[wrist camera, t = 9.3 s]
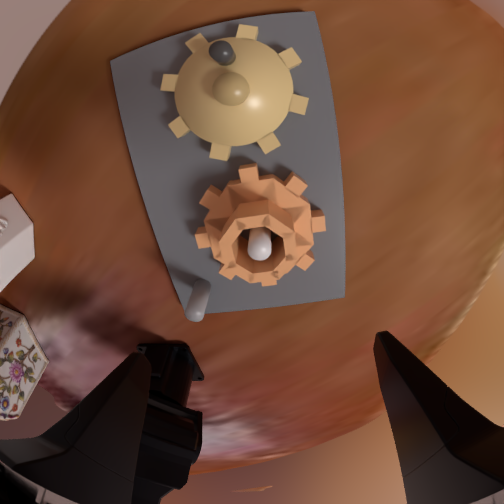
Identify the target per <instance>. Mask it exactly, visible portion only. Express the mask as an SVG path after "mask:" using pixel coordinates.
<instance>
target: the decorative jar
mask: <svg viewBox="0 0 504 504" xmlns="http://www.w3.org/2000/svg"><path fill="white" fill-rule="evenodd" d="M48 363H49V360H48V359H47V357H46V356H45V354H44V352H43V350H42V348H41V347H40V345H39V343H38V341H37V339H36V337H35V335H34V333H33V331H32V330H31V327H30V326H29V324H28V322H27V319H26V317H25V316H24V315H23V314H20V313H18V312H16V311H14V310H11V309H9V308H7V307H5V306H3V305H1V304H0V420H4V421H8V420H10V419H16V418H19V416H20V415H21V412H22V411H23V408H24V406H25V405H26V403H27V401H28V399H29V397H30V395H31V393H32V392H33V390H34V388H35V386H36V385H37V383H38V381H39V379H40V377H41V375H42V373H43V372H44V370H45V368H46V366H47V364H48Z"/></svg>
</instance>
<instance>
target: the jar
mask: <svg viewBox="0 0 504 504" xmlns="http://www.w3.org/2000/svg"><path fill="white" fill-rule="evenodd" d="M34 258H35V251H34V230H33V222H32V221H31V220H30V218H29V217H28V216H27V214H26V213H25V211H24V210H23V209H22V207H21V206H20V204H19V203H18V201H17V200H16V198H15V197H14V196H13V194H9V195H7V196H4V197H2V198H0V292H1V291H2V290H3V289H4V288H5V287H6V286H7V285H8V284H9V282H10V281H11V280H12V279H13V278H14V277H15V276H16V275H17V274H18V273H19V272H20V271H21V270H23V269H24V268H25V267H26V266H27V265H28V264H29V263H30V262H31V261H32V260H33V259H34Z"/></svg>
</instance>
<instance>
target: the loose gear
mask: <svg viewBox="0 0 504 504" xmlns="http://www.w3.org/2000/svg"><path fill="white" fill-rule="evenodd" d="M238 170H239V175H240V179H238V180H232V181H229V182H228V184H227V185H226V187H225V188H224V190H223V191H221V190H219V189H218V188H216V187H214V186H213V185H210V187H209V188H208V190H207V191H206V193H205V194H204V196H203V197H202V199H201V200H200V202H199V203H200V204H201V205H203V206H205V207H206V208H208V209H209V212H208V213H207V215H206V217H205V219H204V224H205V226H204V227H198V229H197V231H196V233H195V238H196V241H197V245H198V248H199V249H200V248H207V247H211V249H212V252H213V256H214V258H215V259H217V260H218V261H220V262H222V263H221V265H220V269H219V272H218V273H220V274H221V275H223V276H225V277H226V278H228V279H230V280H232V278H233V277H234V276H235V275H237V276H239V277H240V278H242V279H244V280H245V281H247V282H249V283H257V282H261V283H262V287H263V286H271V285H277V280H279V279H280V278H281V277H282V276H283V275H284V274H286V273H288V272H289V271H290V270H291V269H292V268H293V267H294V266H295V265H297V266H298V267H300V268H301V269H303V270H304V271H305V270H306V269H307V268H308V267H309V266H310V265H311V264H312V263H313V262H314V261H315V259H314V255H313V252H312V251H311V250H309V249H310V248H311V247H312V246H313V245H314V241H313V233H315V232H322V231H326V226H325V215H324V213H323V211H322V209H320V210H313V211H311V209H310V203H309V201H308V199H307V198H306V197H304V196H303V195H302V193H303V191H304V190H305V189H306V188H307V186H308V185H307V183H306V181H305V180H304V179H302V178H301V177H300V176H298V175H297V174H295V173H294V172H293V171H292V172H291V173H290V175H289V176H288V177H287V178H286V180H285V181H282V180H281V179H280V178H278V177H277V176H275V175H274V174H269V175H262V176H259V171H258V166H257V163H253V164H247V165H241V166H240V167H239V169H238ZM264 226H266V227H267V228H269V229H270V230H272V231H273V232H275V233H276V234H278V236H277V237H276V238H275V240H274V241H273V242H272V243H271V254H270V256H269V257H268V258H267V259H265V260H255V259H253V258H251V257H250V256H249V254H248V242H249V241H248V240H246V239H245V238H243V237H242V236H241V235H240V233H241V232H242V230H243V229H250V228H257V227H264Z"/></svg>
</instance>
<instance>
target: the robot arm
mask: <svg viewBox="0 0 504 504" xmlns="http://www.w3.org/2000/svg"><path fill="white" fill-rule="evenodd" d="M137 350H138V352H133V353H131V354H130V355H129V356H128V357H127V358H126V359H125V360H124V361H123V362H122V363H121V364H120V365H119V366H118V367H117V368H115V369H114V370H113V371H112V372H111V373H110V374H109V375H108V376H107V377H106V378H105V379H104V380H103V381H102V382H101V383H100V384H99V385H98V386H96V387H95V388H94V389H93V390H92V391H91V392H90V393H89V394H88V395H87V396H86V397H85V398H84V399H83V400H82V401H81V402H80V403H79V404H77V405H76V406H75V407H74V408H73V409H72V410H71V411H70V412H69V413H68V414H67V415H66V416H65V417H63V418H62V419H61V420H60V421H58V422H57V423H56V424H55V425H53V426H52V427H51V428H50V429H48V430H47V431H46V432H44V433H43V434H42V435H40V436H38V437H34V438H26V439H9V440H0V460H1V461H2V462H3V463H5V465H4V464H3V463H1V462H0V504H160V501H161V498H162V497H164V496H165V495H167V494H168V493H169V492H171V491H172V490H173V489H178V490H179V489H181V488H182V487H183V486H184V485H185V484H186V483H187V480H188V475H189V470H190V466H191V465H192V464H194V463H195V462H196V460H197V459H198V456H199V454H200V451H201V446H202V412H200V411H195V410H192V409H189V408H186V405H187V400H188V396H189V391H190V387H191V383H192V381H203V380H204V375H203V373H202V371H201V369H200V367H199V365H198V364H197V362H196V360H195V358H194V356H193V354H192V352H191V350H190V348H189V346H188V345H186V344H138V346H137ZM373 350H374V356H375V362H376V367H377V372H378V378H379V384H380V388H381V392H382V396H383V399H384V403H385V406H386V410H387V413H388V417H389V421H390V424H391V428H392V432H393V436H394V440H395V444H396V449H397V453H398V457H399V462H400V467H401V472H402V476H403V482H404V488H405V493H406V499H407V504H504V427H500V426H498V425H496V424H494V423H493V422H491V421H490V420H489V419H487V418H486V417H485V416H483V415H482V414H481V413H479V412H478V411H477V410H475V409H474V408H473V407H471V406H470V405H469V404H468V403H466V402H465V401H464V400H462V399H461V398H460V397H459V396H458V395H457V394H456V393H455V392H454V391H453V390H452V389H451V388H450V387H447V385H446V384H445V383H444V382H443V381H442V380H441V379H440V378H439V377H437V375H436V374H434V373H433V372H432V371H431V370H430V369H429V368H428V367H427V366H426V365H425V364H424V363H423V362H422V361H420V360H419V359H418V358H417V357H416V356H415V355H414V354H413V353H412V352H411V351H409V350H408V349H407V348H406V347H405V346H404V345H403V344H402V343H401V342H400V341H398V340H397V339H396V338H395V337H394V336H393V335H392V334H391V333H389V332H388V331H381V332H377V334H376V337H375V342H374V347H373Z"/></svg>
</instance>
